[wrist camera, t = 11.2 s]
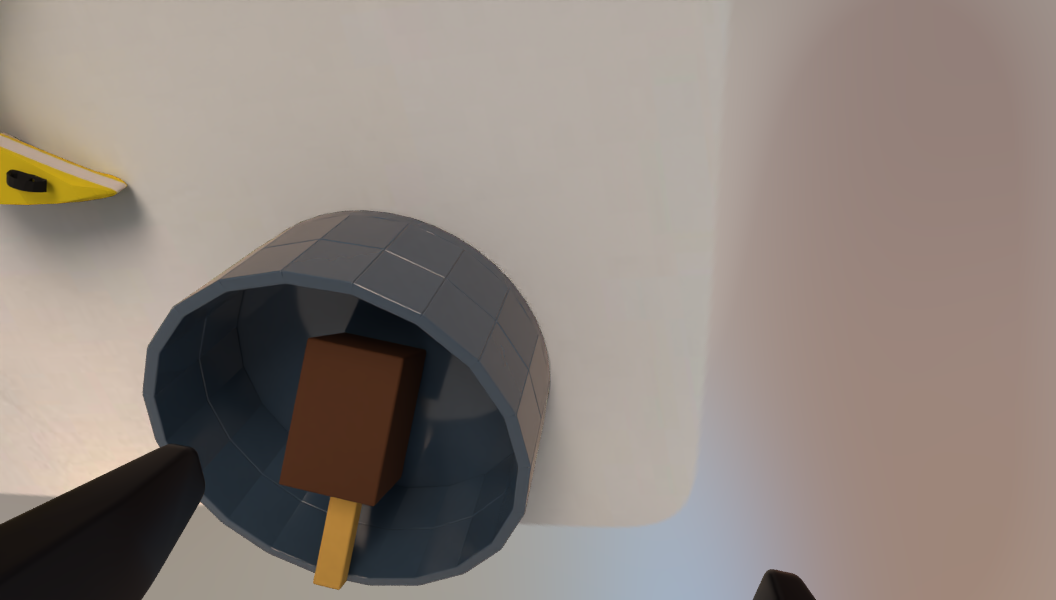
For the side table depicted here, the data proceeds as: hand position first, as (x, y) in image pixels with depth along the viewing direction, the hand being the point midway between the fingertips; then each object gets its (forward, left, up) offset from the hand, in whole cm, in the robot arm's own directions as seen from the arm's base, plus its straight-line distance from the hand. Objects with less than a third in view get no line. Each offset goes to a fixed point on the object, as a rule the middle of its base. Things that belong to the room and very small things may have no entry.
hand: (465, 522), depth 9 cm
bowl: (+6, +6, -12) cm, 14 cm away
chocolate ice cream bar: (+6, +9, -9) cm, 14 cm away
